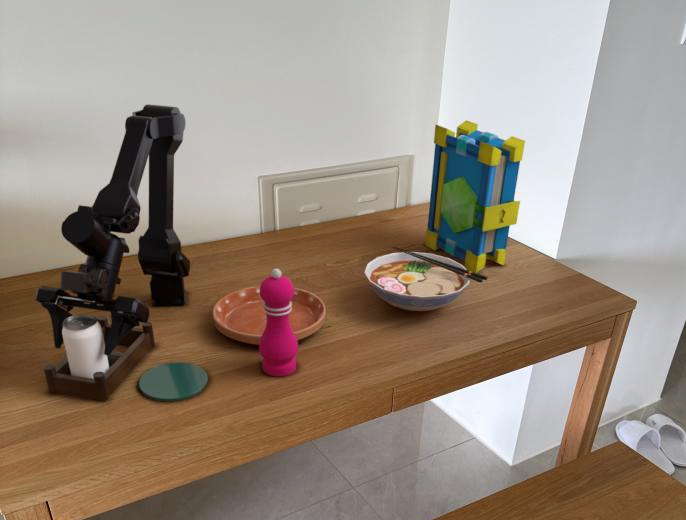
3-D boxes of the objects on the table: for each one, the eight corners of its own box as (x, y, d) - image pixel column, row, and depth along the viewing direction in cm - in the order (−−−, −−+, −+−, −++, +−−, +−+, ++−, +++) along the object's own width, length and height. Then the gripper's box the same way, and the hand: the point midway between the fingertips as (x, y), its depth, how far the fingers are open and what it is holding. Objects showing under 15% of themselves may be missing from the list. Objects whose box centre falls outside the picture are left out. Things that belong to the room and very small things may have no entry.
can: (100, 393, 126) (87, 333, 119) (66, 387, 126) (52, 328, 120) (117, 373, 131) (107, 315, 124) (85, 369, 132) (72, 310, 125)
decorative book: (471, 277, 171) (488, 148, 154) (413, 243, 186) (423, 123, 169) (515, 265, 177) (536, 140, 160) (456, 234, 193) (469, 117, 176)
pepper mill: (260, 357, 137) (255, 260, 126) (298, 357, 138) (297, 260, 126) (259, 378, 131) (254, 278, 120) (299, 377, 132) (297, 278, 120)
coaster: (208, 363, 135) (208, 360, 134) (206, 399, 125) (206, 396, 125) (142, 366, 133) (142, 363, 133) (135, 403, 123) (135, 400, 123)
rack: (104, 337, 141) (100, 314, 139) (156, 344, 140) (153, 322, 137) (47, 393, 125) (41, 368, 122) (105, 402, 123) (100, 377, 121)
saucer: (190, 325, 147) (188, 309, 144) (271, 289, 161) (270, 274, 159) (269, 365, 135) (268, 348, 133) (348, 323, 150) (348, 307, 148)
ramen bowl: (338, 300, 158) (338, 266, 153) (404, 271, 172) (407, 238, 167) (426, 342, 144) (430, 305, 140) (491, 306, 158) (496, 272, 154)
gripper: (28, 242, 120) (4, 330, 117) (132, 254, 117) (110, 346, 114) (63, 267, 131) (42, 349, 128) (159, 279, 128) (139, 363, 125)
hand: (81, 351), depth 124 cm, fingers open, 9 cm apart
